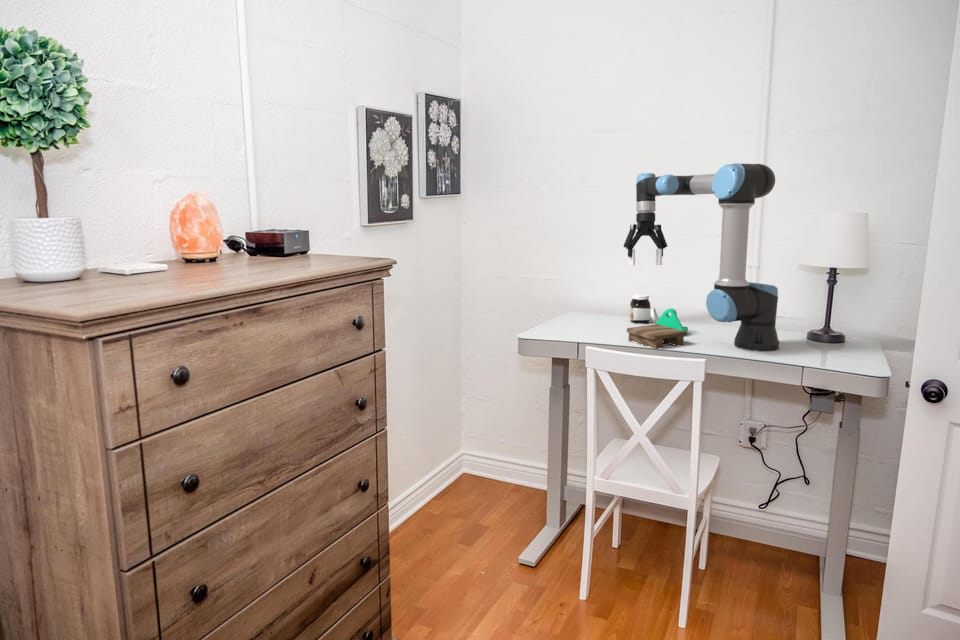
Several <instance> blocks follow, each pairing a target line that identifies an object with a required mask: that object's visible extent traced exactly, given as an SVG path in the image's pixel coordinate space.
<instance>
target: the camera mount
mask: <svg viewBox="0 0 960 640" xmlns="http://www.w3.org/2000/svg"><path fill="white" fill-rule="evenodd" d="M669 313H670V314H669ZM677 315H678V313H677V311H676V309H674V308H672V307H669V308H668V309H665V310H664V311H663V312H662V314H661V315H660V317H658V321H657V322H656V324H659V325H663V326H667V327H670V328H674V329H678V330H682V331H686V333H687V332H689V326H683V324H682V323H681V321H680V319H679V318H678V316H677Z"/></svg>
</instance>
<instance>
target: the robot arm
mask: <svg viewBox="0 0 960 640" xmlns="http://www.w3.org/2000/svg"><path fill="white" fill-rule="evenodd" d="M775 184H776V174H775V173H774V171H773V170H772V169H771V168H770V167H769V166H767V165H765V164H762V163H737V162H735V163H729V164H728V163H727V164H724V165H722V166H721V167H720V168H718V170H717V171H715V173H709V174H708V173H707V174H692V175H674V174H663V175H660V176H659V175H658V176H656V174H655V173H654V172H644V173H639V174H637V176H636V183H635V187H636V188H635V189H636V198H635V200H636V201H635V202H636V205H635V206H636V209H635V210H636V214H635V215H636V218H635V221H636V223H637V224H635V223H634V224H630V227H629V231H628V234H627V236H626V239H625V242H624V244H623V248H625V249H626V250H627V257H628V265H629V266H636V263H635V262H636V249H635V246H636V245H637V243H638V242H639V240H640V239H641V237H643V236H645V237H646V236H647V237H650V238H651V240H652V242H653V243H654V245H655V246H656V248H657V249H655V265H656V266H661V265H663V257H664V249H666V248H667V247H668V243H667V241H666V238H665V236H664V232H663V231H662V225H661V224H655V222H656V213H655V212H656V197H660V196H695V195H697V196H698V195H714V196H715V198H718V206H719V207H721V209H722V219H721V239H720V254H719V255H720V257H719V273H718V274H719V275H718V279H717V280H716V281H715V282H714V287H713V289H712V290H711V291H709V292H708V294H707V295H706V299H705V305H706V309H707V311H708V314H709V315H710V316H711V318H712V319H713V320H715V321H717V322H720V323H733V322H740V325H739V328H738V330H737V333H736V335H735V337H734V343H733V345H734V346H735V347H736V346H737V348H740V349H742V348H743V350H747V349H749V350H748V351H755V350H757V351H758V352H771V351H772V352H773V351H776V350H778V349H779V348H780V340H779V337H778V333H777V329H776V325H777V323H776V322H777V321H776V320H777V314H778V313H777V312H778V303H779V302H778V301H779V288H778V287H777V286H776V285H772V284H768V283H760V282H751V281H748V280H747V279H746V274H747V273H746V272H747V259H748V257H747V256H748V240H749V225H750V224H749V222H750V209H751V208H752V207H753V206H754V205H755V203H756V199H758V198H763V197H765V196H767V195H768V194H770V193H771V192H772V191H773V189H774V187H775Z"/></svg>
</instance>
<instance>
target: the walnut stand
mask: <svg viewBox="0 0 960 640" xmlns="http://www.w3.org/2000/svg"><path fill="white" fill-rule="evenodd" d="M626 332H627V333H628V341H629V340H630V341H629V342H631V341H634V342H637V343H640V344H639V345H641V344H643V345H642V346H644V345H647V346H650V347H652V348H651V349H654V350H660V349H659V348H661V349H663V348H662V347H663V346H664V343H665V342H668V343H671V344H670V345H672V344H675V345H680V346H682V345H681V344H683V345H684V337H685V336H686V335H687V332H686V331H682V330H678V329H674V328H670V327H667V326H663V325H659V324H648V325H642V326H641V325H640V326H634V327H627V328H626ZM663 341H664V342H663ZM634 342H633V343H634ZM637 343H636V344H637ZM668 343H667V344H668ZM675 345H674V346H675ZM647 346H646V347H647ZM650 347H649V348H650Z"/></svg>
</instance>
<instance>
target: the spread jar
mask: <svg viewBox="0 0 960 640" xmlns="http://www.w3.org/2000/svg"><path fill="white" fill-rule="evenodd" d="M631 297H632V298H631V299H632V300H631V301H630V305H629V321H630V322H631V323H632V322H633V323H632V324H637V323H645V324H648V323H649V322H650V320H651V319H652V322H653V325H655V324H656V322H657V321H658V319H659V317H658V313H657V310H656V308H655V307H651V302H650V295H649V294H645V293H636V294H635V293H634V294H632V296H631Z"/></svg>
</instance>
